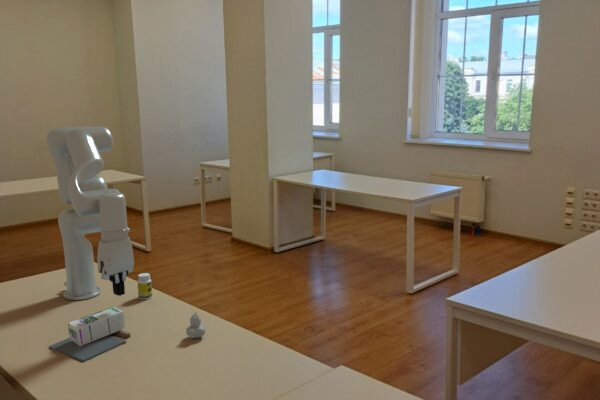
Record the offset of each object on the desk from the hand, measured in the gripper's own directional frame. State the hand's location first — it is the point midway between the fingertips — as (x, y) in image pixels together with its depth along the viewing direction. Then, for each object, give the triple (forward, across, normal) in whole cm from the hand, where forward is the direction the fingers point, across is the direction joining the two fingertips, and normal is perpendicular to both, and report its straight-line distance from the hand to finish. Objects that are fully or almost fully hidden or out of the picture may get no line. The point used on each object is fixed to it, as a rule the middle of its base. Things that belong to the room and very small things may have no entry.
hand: (119, 294), depth 166 cm
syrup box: (+8, 0, 0) cm, 8 cm away
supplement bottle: (+12, -23, -16) cm, 30 cm away
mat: (+12, +12, 0) cm, 17 cm away
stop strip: (+12, +2, 0) cm, 12 cm away
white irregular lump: (+12, -8, +23) cm, 27 cm away
